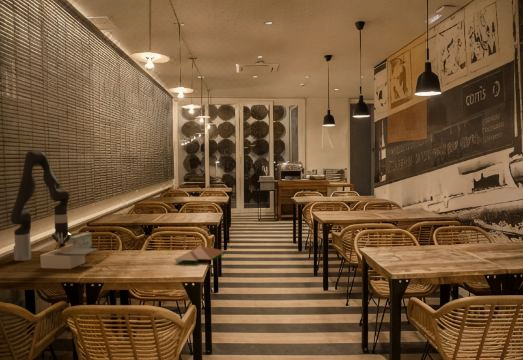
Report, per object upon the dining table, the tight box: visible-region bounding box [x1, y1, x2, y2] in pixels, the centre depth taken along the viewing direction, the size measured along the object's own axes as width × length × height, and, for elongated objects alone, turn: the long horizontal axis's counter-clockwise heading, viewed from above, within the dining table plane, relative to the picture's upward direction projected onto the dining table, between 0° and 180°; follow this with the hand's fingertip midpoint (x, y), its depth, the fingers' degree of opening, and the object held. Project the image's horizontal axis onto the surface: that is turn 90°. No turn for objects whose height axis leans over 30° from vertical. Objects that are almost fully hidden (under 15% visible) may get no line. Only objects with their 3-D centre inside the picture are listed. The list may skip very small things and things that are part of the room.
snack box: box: [66, 232, 93, 257], centre depth 315 cm, size 21×6×15 cm, turn 168°
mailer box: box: [39, 249, 86, 270], centre depth 291 cm, size 20×16×8 cm
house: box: [174, 246, 226, 266], centre depth 301 cm, size 23×33×8 cm
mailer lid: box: [55, 244, 99, 257], centre depth 289 cm, size 20×16×4 cm
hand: (62, 249), depth 290 cm, fingers closed
